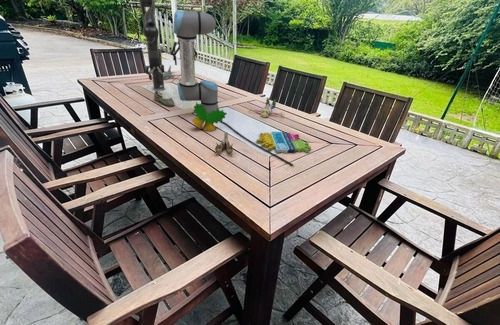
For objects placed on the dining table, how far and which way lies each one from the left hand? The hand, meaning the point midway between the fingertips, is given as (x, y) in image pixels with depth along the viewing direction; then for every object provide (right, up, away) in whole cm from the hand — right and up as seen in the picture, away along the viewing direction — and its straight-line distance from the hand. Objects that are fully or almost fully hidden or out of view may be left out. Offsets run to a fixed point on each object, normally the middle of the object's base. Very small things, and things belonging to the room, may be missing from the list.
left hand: (156, 79), depth 202 cm
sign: (+91, -53, -49) cm, 117 cm away
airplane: (-18, +25, +76) cm, 82 cm away
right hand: (+22, +12, +2) cm, 25 cm away
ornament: (+47, -43, -37) cm, 74 cm away
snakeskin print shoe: (+5, -18, +3) cm, 19 cm away
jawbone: (+59, -59, -63) cm, 105 cm away
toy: (+86, -26, -1) cm, 90 cm away
